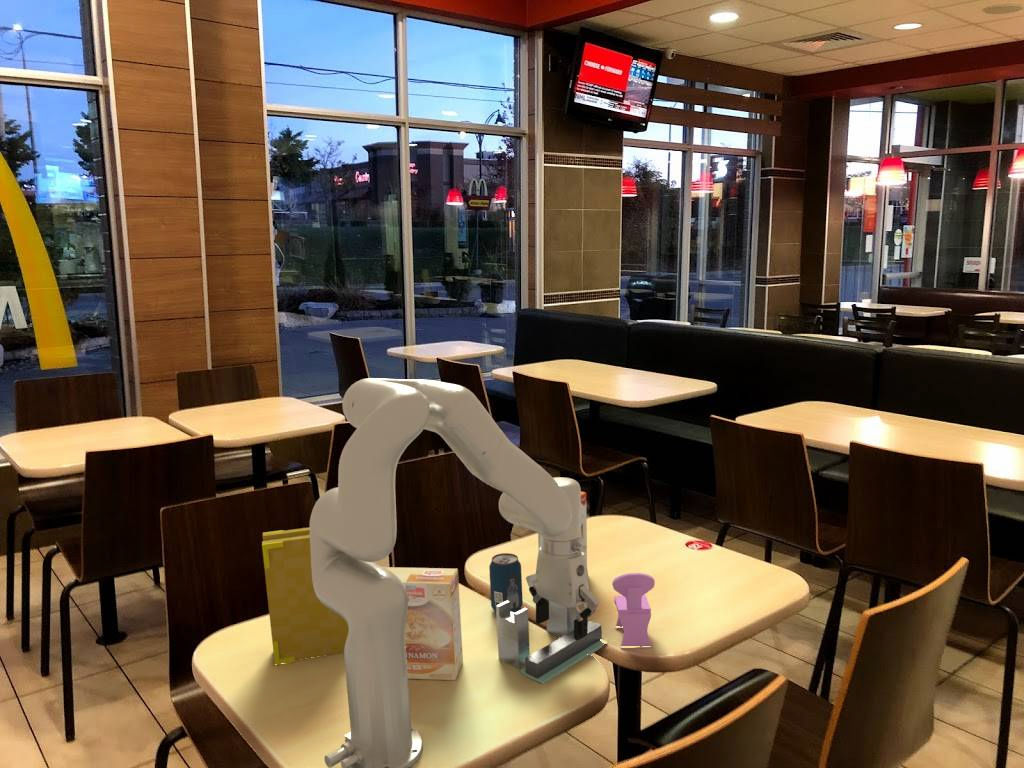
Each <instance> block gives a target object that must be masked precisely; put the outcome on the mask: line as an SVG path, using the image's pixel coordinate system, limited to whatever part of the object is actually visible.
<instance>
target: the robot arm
mask: <svg viewBox="0 0 1024 768" xmlns="http://www.w3.org/2000/svg"><path fill="white" fill-rule="evenodd" d="M342 412H343V415H344V416H345V419H346V420H347V421H348V423H349V424H350V425H351V426H352V427H354V428H355V431H353V433H352V434H351V436H350V438H349V439H348V440H347V441H346V443H345V445H344V447H343V449H342V451H341V455H340V458H339V462H338V463H339V464H338V472H337V473H338V475H337V476H338V477H337V478H338V479H337V480H338V483H337V487H333V488H330V489H329V490H327V491H326V492H324V493H323V494H322V495H320V497H319V498H318V499H317V500H316V502H315V504H314V506H313V508H312V511H311V515H310V519H309V527H310V551H311V569H312V582H313V587H314V591H315V594H316V596H317V598H318V599H319V600H320V602H321V603H322V604H324V605H325V606H326V607H327V608H329V609H330V610H332V611H333V612H335V613H336V614H338V615H339V616H340V617H341V618H343V619H344V620H345V621H346V622H347V624H348V636H347V639H346V643H345V647H344V653H343V660H344V670H345V678H346V679H345V681H346V691H347V703H348V714H349V716H348V717H349V725H350V726H349V727H350V732H348V733H346V734H344V740H345V742H343V743H341V746H340V748H338V749H337V750H336V749H335V750H334V751H331V752H330V753H328V754H326V755H324V758H323V759H324V763H325V765H326V767H328V768H332V767H335V766H336V765H338V764H341V768H409V767H410V768H411V767H412V766H413V765H414V764H416V762H418V760H419V759H420V758H421V755H422V753H423V740H422V737H421V735H420V733H419V732H418V731H417V730H416V729H414V728H412V718H411V705H410V704H411V703H410V692H409V689H410V688H409V679H408V674H407V661H406V647H405V626H406V617H407V610H408V595H407V591H406V588H405V586H404V585H403V583H402V582H401V580H400V579H399V578H398V577H397V576H396V575H395V574H393V573H392V572H391V571H389V570H387V569H386V568H384V567H385V566H382V565H379V564H378V563H377V562H380V561H381V560H384V559H386V558H387V557H388V556H389V555H390V554H391V553H392V551H393V550H394V547H395V546H396V545H395V544H396V540H397V532H398V531H397V530H398V529H397V523H398V522H397V505H396V502H397V500H396V471H397V467H398V463H399V461H400V459H401V456H402V455H403V454H404V452H405V450H406V449H407V447H408V446H409V445H410V444H411V443H412V442H413V441H414V440H415V439H416V438H417V437H418V436H419V435H420V434H421V433H422V432H423V430H426V431H428V432H429V431H430V432H433V433H436V434H437V435H439V436H440V437H441V438H442V439H443V441H445V443H446V444H447V445H448V446H449V448H450V449H451V450H452V452H453V453H454V454H456V456H457V457H458V459H459V460H460V461H461V462H462V463H463V465H464V466H465V467H466V469H467V470H468V471H469V472H470V473H471V474H472V475H473V476H475V477H476V478H477V479H478V480H480V481H481V482H482V483H485V484H486V485H489V486H490V487H492V488H493V489H495V490H497V491H499V492H502V493H501V495H500V497H499V499H498V510H499V513H500V515H501V517H503V519H504V520H506V521H507V522H508V523H510V524H513V525H515V526H518V527H520V528H523V529H527V530H529V531H532V532H535V533H537V534H538V533H540V534H541V547H540V548H539V547H538V553H537V559H536V567H535V573H532V574H530V575H527V576H526V578H525V580H526V582H527V585H528V590H529V593H530V594H531V596H532V602H533V603H534V604H535V623H536V624H537V625H541V624H542V623H544V622H547V620H548V619H549V600H550V601H552V602H555V603H557V604H560V605H562V606H565V607H568V608H571V609H572V611H573V613H574V615H575V617H576V618H577V619H575V620H574V639H575V640H577V641H578V640H580V639H582V638H583V637H585V636H587V632H588V621H589V620H588V618H589V617H591V615H593V614H594V613H595V612H596V609H597V607H598V605H599V603H600V602H599V599H598V598H597V597H596V596H595V595H594V594H592V592H591V591H590V582H589V571H588V562H587V563H586V558H585V555H584V553H583V552H582V551H583V550H584V545H582V544H581V492H582V491H581V489H582V488H581V486H580V483H579V482H578V481H577V480H575V479H573V478H570V477H560V476H556V477H552V475H551V474H550V473H549V472H547V471H546V470H545V468H543V467H542V466H541V465H540V464H538V463H537V462H536V461H535V460H534V459H532V458H531V457H530V456H529V455H527V454H526V453H525V452H524V451H523V450H521V449H520V448H519V447H518V446H517V445H515V444H514V443H513V442H511V440H510V439H509V438H508V437H507V436H506V434H505V433H504V432H503V430H502V429H501V428H500V427H499V425H498V424H497V423H496V421H495V420H494V418H493V416H491V415H490V413H489V411H487V409H486V408H485V407H484V405H483V404H482V403H481V401H480V400H479V398H477V396H476V395H475V394H474V392H472V391H471V390H470V389H468V388H466V387H465V386H462V385H460V384H455V383H450V382H444V381H441V380H440V381H438V380H433V379H402V378H401V379H399V378H397V379H396V378H377V377H376V378H375V377H374V378H373V377H369V378H362V379H360V380H358V381H355V382H354V383H353V384H351V385H350V387H348V389H347V390H346V391H345V394H344V396H343V398H342ZM586 603H587V604H586ZM579 608H580V609H581V610H580V609H579Z"/></svg>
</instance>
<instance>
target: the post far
mask: <svg viewBox="0 0 1024 768" xmlns="http://www.w3.org/2000/svg"><path fill="white" fill-rule="evenodd" d="M575 619H577V618H576V617H575V615H574V613H573V611H572V609H571V608H568V607H565V606H562V605H560V604H557V603H555V602H552V601H550V600H549V619H548V620H546V631H547V632H548V633H550V634H553V635H555V636H557V637H559V638H561V637H562V636H564V635H566V634H568V633H569V632H571V631H573V630H574V620H575Z"/></svg>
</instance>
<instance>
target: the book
mask: <svg viewBox="0 0 1024 768" xmlns="http://www.w3.org/2000/svg"><path fill="white" fill-rule="evenodd" d="M261 547H262V548H261V549H262V557H263V565H264V566H263V569H264V576H265V586H266V587H265V588H266V595H267V604H268V613H269V614H268V615H269V623H270V631H271V633H270V634H271V642H272V643H271V644H272V652H273V662H274V664H273V665H275V664H281V663H288V664H291V663H290V662H293V663H295V662H296V661H295V660H298V661H301V660H300V659H304V660H306V659H305V658H310V659H312V658H311V657H315V658H318V657H317V656H321V657H325V656H324V655H327V656H331V655H330V654H333V655H337V654H342V653H343V654H344V647H345V643H346V639H347V636H348V624H347V622H346V621H345V620H344V619H343V618H341V617H340V616H339V615H338V614H336V613H335V612H333V611H332V610H330V609H329V608H327V607H326V606H325V605H324V604H322V603H321V602H320V600H319V599H318V598H317V596H316V594H315V591H314V587H313V582H312V569H311V551H310V526H309V527H302V528H295V529H288V530H283V529H282V530H281V529H280V530H274V531H267V532H262V541H261Z"/></svg>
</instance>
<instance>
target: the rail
mask: <svg viewBox="0 0 1024 768" xmlns="http://www.w3.org/2000/svg"><path fill="white" fill-rule="evenodd" d="M602 626H603V625H601V624H599V623H596V622H594V621H592V620H588V632H587V636H585V637H583V638H582V639H580V640H578V641H577V640H575V639H574V630H573V631H571V632H569V633H568V634H566V635H564V636H562V637H559V638H558V639H555V640H553V641H551V643H548V644H547V645H545V646H544V647H542V648H540V649H538V650H536V651H535V652H533V653H532V654H530V656H528V657H526V658H525V665H524V668H525V673H526V674H528V675H531V676H533V677H535V678H537V679H538V678H539V677H541V676H543V675H544V674H546V673H548V672H549V671H551V670H552V669H554V668H556V667H557V666H559V665H561V664H562V663H564V662H566V661H567V660H569V659H570V658H572V657H574V656H575V655H577V654H579V653H580V652H582V651H583V650H585V649H587V648H588V647H590V646H592V645H593V644H595V643H596V642H598V641H600V639H603V636H602V634H603V632H602V631H603V629H602Z"/></svg>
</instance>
